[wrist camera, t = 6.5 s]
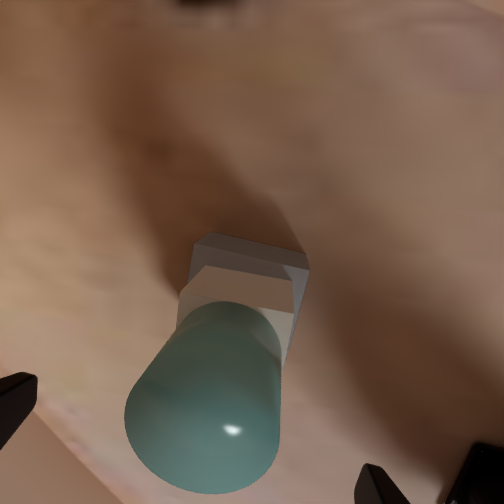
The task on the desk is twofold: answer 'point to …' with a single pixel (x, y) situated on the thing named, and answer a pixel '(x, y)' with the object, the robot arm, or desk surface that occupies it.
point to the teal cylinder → (210, 401)
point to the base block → (252, 262)
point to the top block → (242, 297)
